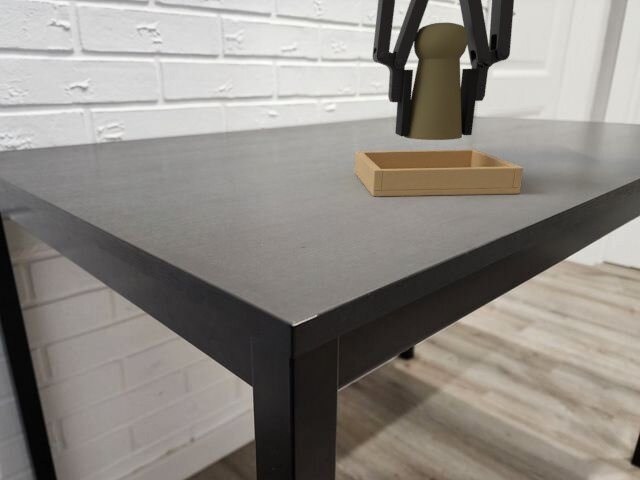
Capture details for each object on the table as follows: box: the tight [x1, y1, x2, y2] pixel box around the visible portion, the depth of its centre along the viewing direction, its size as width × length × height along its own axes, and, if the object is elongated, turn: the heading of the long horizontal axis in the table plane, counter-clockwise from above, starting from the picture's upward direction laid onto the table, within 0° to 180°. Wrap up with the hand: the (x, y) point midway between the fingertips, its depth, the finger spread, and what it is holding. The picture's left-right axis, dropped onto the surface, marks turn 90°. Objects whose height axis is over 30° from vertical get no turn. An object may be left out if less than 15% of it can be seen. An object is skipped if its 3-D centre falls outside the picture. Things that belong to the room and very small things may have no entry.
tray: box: [354, 148, 524, 197], centre depth 56 cm, size 15×13×3 cm
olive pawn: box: [403, 22, 468, 141], centre depth 53 cm, size 6×6×11 cm
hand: (432, 133), depth 55 cm, fingers closed on olive pawn, 6 cm apart
